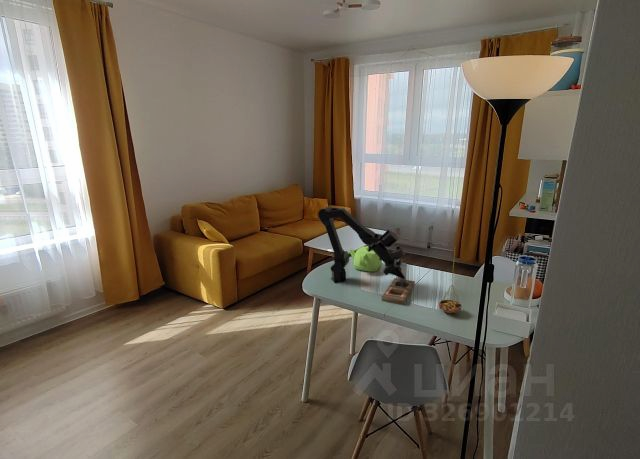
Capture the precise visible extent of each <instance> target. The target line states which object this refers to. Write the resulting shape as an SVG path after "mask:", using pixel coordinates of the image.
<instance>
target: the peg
mask: <svg viewBox="0 0 640 459" xmlns="http://www.w3.org/2000/svg"><path fill="white" fill-rule="evenodd" d="M398 264H399V269H400V271H401V272H402V274H403V275H404V277H405V278H404V279H402V278H400V277H398V276H397V279H398V284H397V286H399V287H405V288H407V287H406V280H407V269H408V268H407V267H408V263H406V262H401V263H398Z"/></svg>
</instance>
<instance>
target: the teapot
mask: <svg viewBox="0 0 640 459" xmlns="http://www.w3.org/2000/svg"><path fill="white" fill-rule="evenodd" d="M368 246H369V245H366V246H360V247H359V248H358V249H357V250H356V251H354V250H353V248H349V249H348V252H349V253H350V255H351V258H352V259H353V267H354V269H356V270H359V271H365V272H370V273H372V272H377V271H378V270H379V269H380V268H381V267H382V264H383V261H382V260H381V261H380V260H379V256H378V255H377V254H376V253H375V252H374V251H373V250H371V251H370V252H368Z"/></svg>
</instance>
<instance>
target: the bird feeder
mask: <svg viewBox="0 0 640 459" xmlns="http://www.w3.org/2000/svg"><path fill="white" fill-rule="evenodd" d="M453 251H454V253H453V255H454V256H453V262H452V264H453V265H452V274H451V282H453V279H454V268H455V267H454V266H455V257H456V247H454V250H453ZM448 288H449V289H448V290H447V292H446V294H445V296H443V298H442V299H441V300H440V301H439V303H438V308H439V309H440V310H441V311H442V312H445V313H447V314H456V313H458V312H460V311H461V310H462V304H461V302H460V301H459V299H458V297H457V294H456V291H455V288H454V286H453V283H451V284H450V287H448ZM452 289H453V293H454V294H455V295H454V296H455V297H456V300H452V299H451V295H452V294H451V293H452ZM448 293H449V297H448V299H446V297H447V295H448Z"/></svg>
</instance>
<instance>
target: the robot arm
mask: <svg viewBox="0 0 640 459" xmlns="http://www.w3.org/2000/svg"><path fill="white" fill-rule="evenodd" d="M317 217H318V218H319V220H320V222H321V223H322V224H323V226H324V228H325V230H326V233H327V236H328V238H329V242H330V244H331V248H332V251H333V262H334V263H333V264H332V265H331V266H330V271H331V277H330V280H332V282H333V283H335V284H338V283H344V282H347V271H346V269H345V267H346V266H347V265H348V264H349V262H350V259H351V258H350V256H349V251H348V250H344V249H343V246H342V244H341V241H340V238H339V234H338V231H337V229H336V225H335V218H339V219H341V221H343V222H344V223H345V224H346V225H348V226H349V228H351V229H352V230H353V231H354V232H355V233H356V234H357V235H358V237H359V239H360V240H361V242H362V243H363V244H364V245H366V246H368V252H370V251H371V250H373V251H374V252H375V253H376V254H377V255H378V256H379V260H380V261H381V260H382V263H384V266H385V267H384V269H383V274H385V276H388V275H393V276H396V277H397V278H398V277H400V278H402V279H404V278H405V277H404V275H403V274H402V272H401V271H400V269H399V264H398V263H402V258H403V257H404V256H405V255H406V252H405V249H404V247H403V246H401V245H397V246H396V247H395V249H394V250H392V249H390V247H391V246H393V245H394V244H395V243H396V242H397V241H399V237H398V235H397V234H396V233H395V232H394V231H393V230H390V229H387V230H385V232H384V233H383V234H381V233H376V232H375V231H373V230H372V229H370V228H368V227H366V226H365V225H363V224H362V223H360V222H359V221H358V220H357V219H356V218H355V217H353V215H352V214H351V213H350V212H348V211H347V210H346V209H345V207H340V208H339V207H338V208H337V207H330V206H324V207H323V208H321V209H319V210H318V213H317ZM388 248H389V249H388Z"/></svg>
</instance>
